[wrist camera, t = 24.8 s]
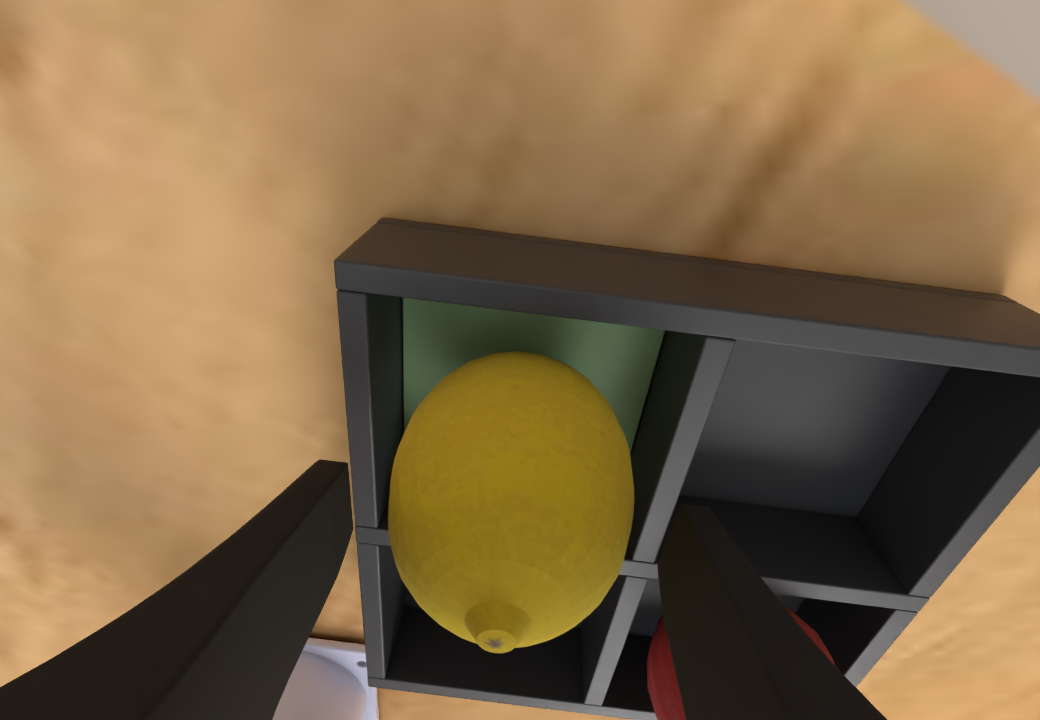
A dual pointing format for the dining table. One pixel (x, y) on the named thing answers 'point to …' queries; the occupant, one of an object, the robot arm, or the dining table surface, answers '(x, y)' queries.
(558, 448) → the lemon
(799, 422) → the divided tray
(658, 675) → the onion
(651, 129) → the dining table surface
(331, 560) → the robot arm
